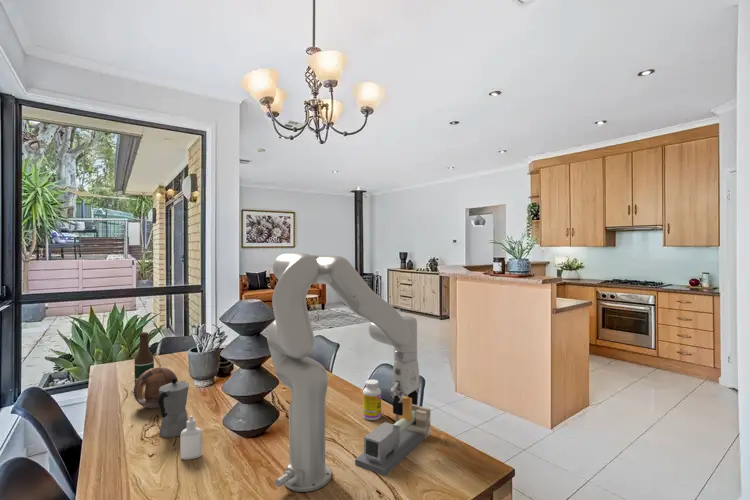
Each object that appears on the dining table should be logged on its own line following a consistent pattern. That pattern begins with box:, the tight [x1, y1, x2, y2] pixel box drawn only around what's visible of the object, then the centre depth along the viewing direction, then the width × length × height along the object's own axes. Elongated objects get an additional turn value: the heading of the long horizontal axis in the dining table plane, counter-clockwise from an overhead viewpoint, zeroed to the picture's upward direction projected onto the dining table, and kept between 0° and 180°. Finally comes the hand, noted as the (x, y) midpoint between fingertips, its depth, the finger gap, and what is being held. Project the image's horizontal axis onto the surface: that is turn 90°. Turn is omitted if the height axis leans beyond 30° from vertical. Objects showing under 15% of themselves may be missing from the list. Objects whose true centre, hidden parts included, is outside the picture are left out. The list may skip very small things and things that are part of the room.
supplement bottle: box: [362, 379, 382, 421], centre depth 139 cm, size 7×7×13 cm
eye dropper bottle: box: [179, 415, 203, 461], centre depth 113 cm, size 4×6×12 cm
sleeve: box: [363, 421, 400, 464], centre depth 112 cm, size 11×5×7 cm, turn 147°
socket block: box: [395, 404, 432, 441], centre depth 127 cm, size 4×11×8 cm, turn 57°
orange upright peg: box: [393, 395, 416, 433], centre depth 121 cm, size 16×4×10 cm, turn 147°
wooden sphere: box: [133, 366, 179, 409], centre depth 149 cm, size 15×15×15 cm
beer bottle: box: [133, 331, 155, 384], centre depth 170 cm, size 8×8×24 cm
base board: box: [354, 429, 424, 477], centre depth 117 cm, size 25×10×2 cm, turn 147°
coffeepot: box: [158, 377, 190, 439], centre depth 128 cm, size 15×9×18 cm, turn 0°
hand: (405, 408), depth 123 cm, fingers open, 9 cm apart
